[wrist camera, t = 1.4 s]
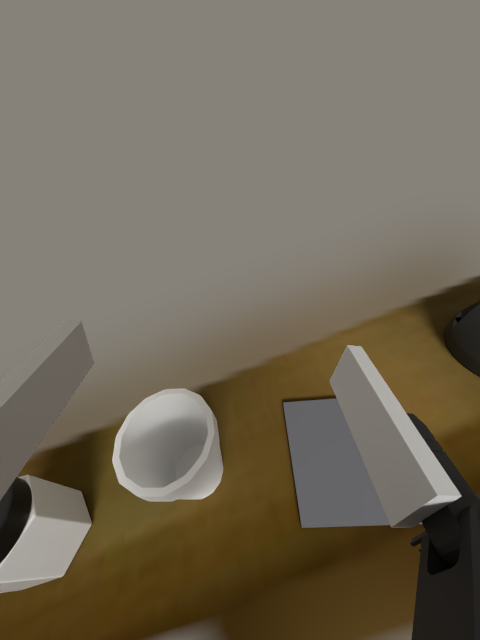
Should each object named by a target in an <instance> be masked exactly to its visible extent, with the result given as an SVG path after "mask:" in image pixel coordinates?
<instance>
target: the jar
mask: <svg viewBox="0 0 480 640" xmlns="http://www.w3.org/2000/svg"><path fill="white" fill-rule="evenodd" d="M91 525H92V522H91V519H90V516H89V513H88V510H87V507H86V504H85V501H84V498H83V495H82V492H81V491H79V490H76V489H73V488H69V487H66V486H63V485H60V484H56V483H53V482H50V481H47V480H43V479H40V478H37V477H34V476H31V475H25V476H21V477H16V478H15V480H14V481H13V483H12V484H11V486H10V487H9V489H8V490H7V492H6V493H5V495H4V496H3V497H2V499H1V500H0V593H3V592H11V591H18V590H23V589H26V588H29V587H32V586H35V585H38V584H42V583H45V582H48V581H51V580H54V579H57V578H60V577H63V576H64V574H65V573H66V571H67V569H68V567H69V565H70V563H71V561H72V560H73V558H74V556H75V554H76V552H77V550H78V549H79V547H80V545H81V543H82V541H83V539H84V538H85V536H86V534H87V532H88V530H89V529H90V527H91Z"/></svg>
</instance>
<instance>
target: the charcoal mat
mask: <svg viewBox="0 0 480 640" xmlns="http://www.w3.org/2000/svg"><path fill="white" fill-rule="evenodd" d="M283 407H284V414H285V421H286V427H287V434H288V441H289V447H290V454H291V461H292V467H293V474H294V481H295V488H296V494H297V501H298V508H299V514H300V521H301V528H309V527H341V526H372V525H390V523H389V521H388V518H387V516H386V514H385V511H384V509H383V507H382V504H381V502H380V499H379V497H378V495H377V492H376V490H375V488H374V485H373V483H372V481H371V478H370V476H369V474H368V471H367V469H366V466H365V464H364V462H363V459H362V457H361V455H360V452H359V450H358V448H357V445H356V443H355V441H354V438H353V436H352V433H351V431H350V429H349V426H348V424H347V422H346V419H345V417H344V415H343V412H342V410H341V408H340V405H339V403H338V400H337V398H336V399H322V400H309V401H296V402H283ZM418 524H422V522H420V523H418Z"/></svg>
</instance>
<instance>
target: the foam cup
mask: <svg viewBox="0 0 480 640" xmlns="http://www.w3.org/2000/svg"><path fill="white" fill-rule="evenodd" d="M219 442H220V441H219V433H218V426H217V420H216V418H215V416H214V414H213V412H212V410H211V409H210V408H209V406H208V405H207V404H206V402H205V401H204V399H203V398H202V397H201V395H198V394H196V393H194V392H192V391H189V390H187V389H185V388H179V389H165V390H162V391H160V392H158V393H156V394H154V395H152V396H149V397H147V398H145V399H144V400H143V401H142V402H141V403H140V404H139V405H138V406H137V407H136V408H135V409H134V410H133V411H131V412H130V413H129V414H128V416H127V418H126V419H125V421H124V423H123V425H122V426H121V428H120V430H119V432H118V434H117V435H116V440H115V446H114V452H113V458H112V462H113V465H114V468H115V472H116V475H117V478H118V481H119V483H120V484H121V485H122V486H124V487H125V488H126V489H128V490H129V491H130V492H132V493H133V494H134V495H136V496H137V497H139V498H142V499H144V500H147V501H174V500H176V499H203V498H205V497H207V496H208V495H210V494H212V493H213V492H214V490H215V489H216V488H217V486H218V485H219V483H220V481H221V477H222V473H223V462H222V455H221V450H220V445H219Z"/></svg>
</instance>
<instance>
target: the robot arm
mask: <svg viewBox="0 0 480 640" xmlns="http://www.w3.org/2000/svg"><path fill="white" fill-rule="evenodd" d="M444 337H445V342H446V344H447V347H448V348H449V350H450V352H451V353H452V354H453V355H454V357H455V358H456V359H457V360H458V361H459V362H460V363H462V364H463V365H464V366H465V367H466V368H468V369H469V370H470V371H472V372H473V373H475V374H477V375H478V376H480V300H478V301H477V302H475V303H474V304H472V305H470V306H469V307H467V308H466V309H464V310H462V311H461V312H459V313H458V314H457V315H456V316H455V317H454V318H453V319H452V320H451V322H450V323H449V324H448V326H447V327H446V329H445V334H444ZM93 364H94V361H93V358H92V355H91V351H90V348H89V344H88V341H87V338H86V335H85V331H84V328H83V324H82V321H72V320H64V321H63V322H62V323H61V324H60V325H59V326H57V327H56V328H55V329H54V330H53V331H52V332H51V333H50V334H49V335H48V336H47V337H46V338H45V339H44V340H43V341H42V342H41V343H39V344H38V346H36V347H35V348H34V349H33V350H32V351H31V352H30V353H29V354H28V355H27V356H26V357H25V358H24V359H23V360H22V361H21V362H19V363H18V365H16V366H15V367H14V368H13V369H12V370H11V371H10V372H9V373H8V374H7V375H6V376H5V377H4V378H3V379H2V380H1V381H0V500H1V499H2V497H3V496H4V495H5V493H6V492H7V490H8V489H9V487H10V486H11V484H12V483H13V481H14V480H15V478H16V477H17V476H18V474H19V473H20V471H21V470H22V468H23V467H24V465H25V464H26V462H27V461H28V459H29V458H30V457H31V455H32V454H33V452H34V451H35V449H36V448H37V446H38V445H39V443H40V442H41V440H42V439H43V438H44V436H45V435H46V433H47V432H48V430H49V429H50V427H51V426H52V424H53V423H54V421H55V420H56V418H57V417H58V416H59V414H60V412H61V411H62V410H63V408H64V407H65V405H66V404H67V402H68V401H69V400H70V398H71V397H72V395H73V394H74V392H75V391H76V389H77V388H78V386H79V385H80V383H81V382H82V381H83V379H84V378H85V376H86V375H87V373H88V372H89V370H90V369H91V367H92V366H93ZM329 382H330V384H331V386H332V389H333V391H334V393H335V396H336V398H337V400H338V403H339V405H340V408H341V410H342V412H343V415H344V417H345V419H346V422H347V424H348V426H349V429H350V431H351V433H352V436H353V438H354V441H355V443H356V445H357V448H358V450H359V452H360V455H361V457H362V459H363V462H364V464H365V466H366V469H367V471H368V474H369V476H370V478H371V481H372V483H373V485H374V488H375V490H376V492H377V495H378V497H379V499H380V502H381V504H382V507H383V509H384V511H385V514H386V516H387V518H388V521H389V523H390V525H391V527H395V528H412V527H414V526H415V525H417V524H418V523H420V522H422V524H423V526H424V528H425V530H426V531H425V532H423V533H421V534H420V535H418V536H416V537H414V538H413V539H412V541H411V543H410V544H411V545H412V546H413V547H414V546H416V545H418V544H420V543H421V549H419V551H420V552H421V553H420V564H419V572H418V573H419V574H418V582H417V592H416V603H415V613H414V622H413V632H412V640H480V500H479V499H478V498H477V496H476V495H475V494H474V492H473V491H472V490H471V488H470V487H469V485H468V484H467V483H466V481H465V480H464V478H463V477H462V476H461V474H460V473H459V471H458V470H457V469H456V467H455V466H454V464H453V463H452V462H451V460H450V459H449V457H448V456H447V455H446V453H445V452H443V449H442V448H441V446H440V445H439V443H438V442H437V441H435V438H434V436H433V435H432V434H431V432H430V431H429V429H428V428H427V427H426V425H425V424H424V423H423V422H421V421H420V420H419V419H418V418H417V417H416V416H415V415H414V414H409V413H406V412H405V411H404V409H403V408H402V406H401V405H400V403H399V402H398V400H397V399H396V397H395V396H394V394H393V393H392V392H391V390H390V389H389V387H388V386H387V384H386V383H385V381H384V380H383V378H382V377H381V375H380V374H379V372H378V371H377V369H376V368H375V366H374V365H373V363H372V362H371V360H370V359H369V357H368V356H367V354H366V353H365V351H364V350H363V348H362V347H361V346H351V345H347V347H346V349H345V351H344V353H343V355H342V357H341V359H340V361H339V363H338V365H337V367H336V369H335V371H334V373H333V375H332V377H331V379H330V381H329Z"/></svg>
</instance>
